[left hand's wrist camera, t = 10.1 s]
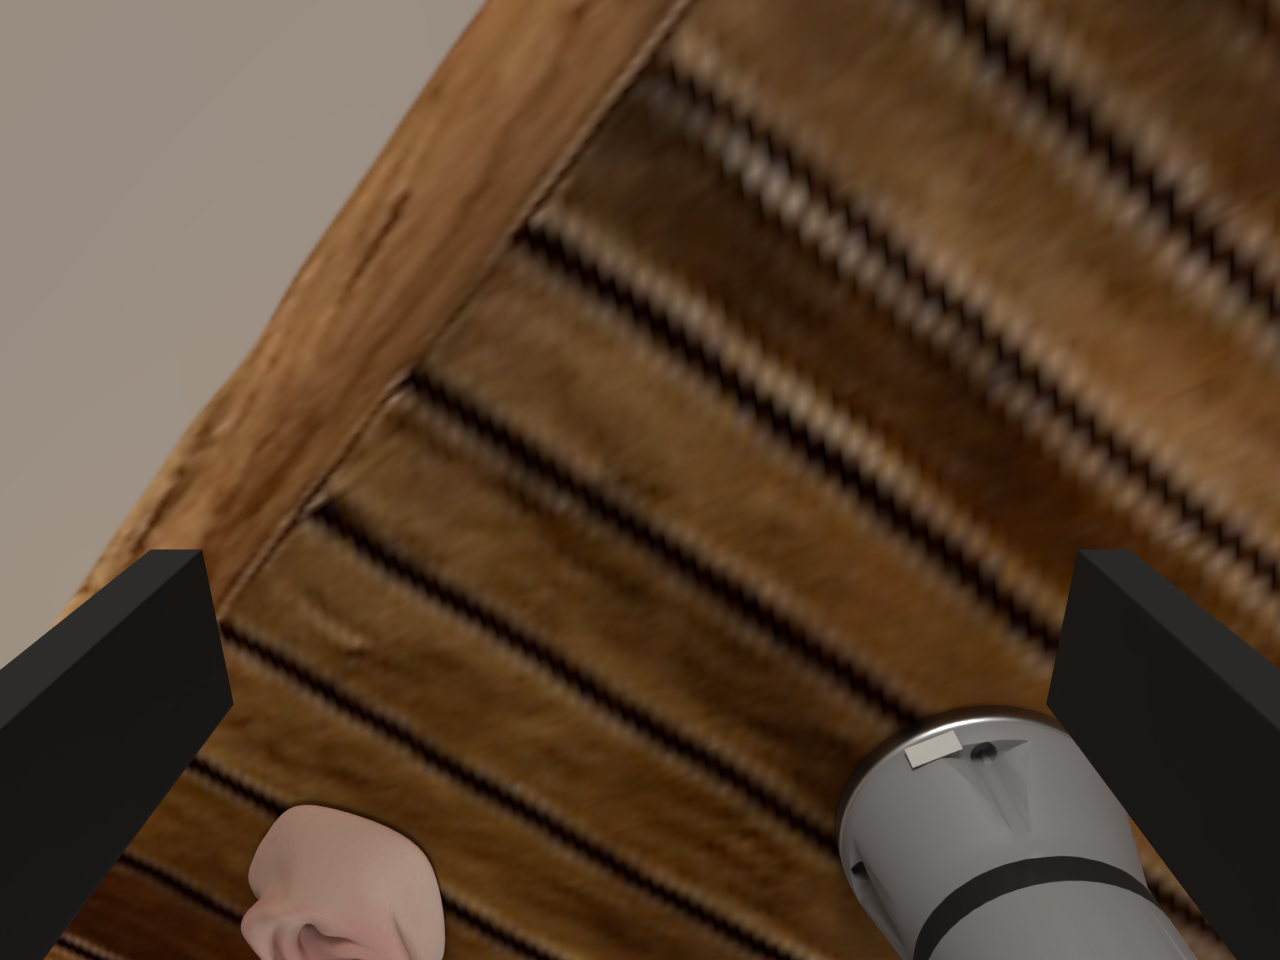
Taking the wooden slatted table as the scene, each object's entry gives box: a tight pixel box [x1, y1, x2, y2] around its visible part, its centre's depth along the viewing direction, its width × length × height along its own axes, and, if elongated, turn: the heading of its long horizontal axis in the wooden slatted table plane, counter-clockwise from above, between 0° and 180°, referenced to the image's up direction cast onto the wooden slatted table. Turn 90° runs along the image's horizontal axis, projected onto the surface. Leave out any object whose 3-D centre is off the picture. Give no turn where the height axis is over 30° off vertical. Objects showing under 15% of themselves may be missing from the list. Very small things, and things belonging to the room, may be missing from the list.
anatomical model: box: [241, 805, 445, 960], centre depth 48 cm, size 13×4×12 cm
